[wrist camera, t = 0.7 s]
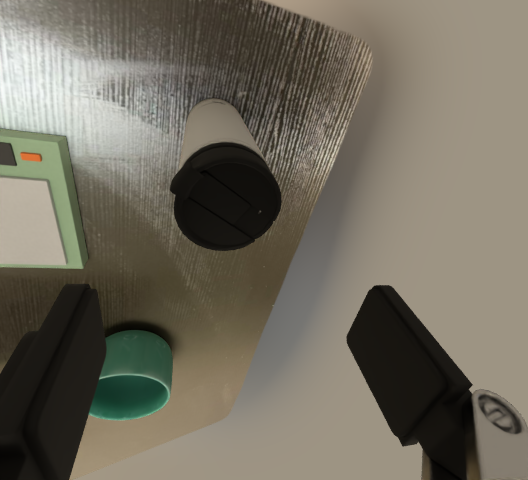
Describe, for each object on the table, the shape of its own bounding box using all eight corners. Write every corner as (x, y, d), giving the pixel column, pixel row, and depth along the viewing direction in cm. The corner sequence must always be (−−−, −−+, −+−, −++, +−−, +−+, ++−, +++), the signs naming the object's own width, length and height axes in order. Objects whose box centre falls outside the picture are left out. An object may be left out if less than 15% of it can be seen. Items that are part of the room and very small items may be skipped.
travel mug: (207, 81, 29) (216, 126, 13) (254, 125, 33) (308, 206, 16) (172, 129, 31) (142, 221, 15) (219, 166, 35) (237, 275, 18)
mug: (179, 320, 48) (175, 373, 40) (170, 365, 54) (166, 418, 47) (64, 315, 43) (35, 374, 35) (70, 365, 49) (46, 425, 42)
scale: (-108, 115, 26) (-136, 122, 24) (66, 136, 30) (55, 143, 28) (-41, 254, 35) (-57, 269, 33) (88, 258, 38) (81, 272, 36)
